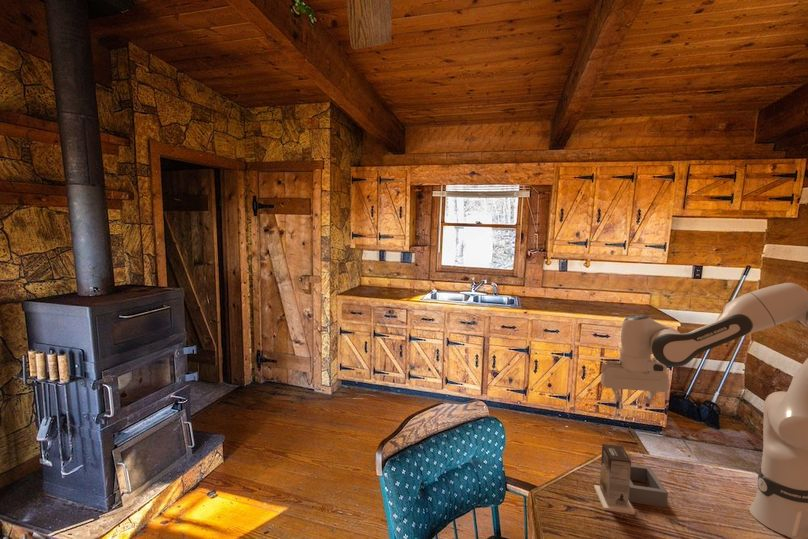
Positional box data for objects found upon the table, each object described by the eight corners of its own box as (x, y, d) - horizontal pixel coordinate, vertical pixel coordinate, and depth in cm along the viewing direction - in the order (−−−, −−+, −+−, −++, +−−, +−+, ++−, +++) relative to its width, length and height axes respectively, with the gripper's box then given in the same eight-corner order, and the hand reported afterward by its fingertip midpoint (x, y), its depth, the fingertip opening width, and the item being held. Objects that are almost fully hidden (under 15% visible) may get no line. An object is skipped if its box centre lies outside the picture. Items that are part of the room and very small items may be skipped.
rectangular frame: (648, 479, 134) (649, 466, 133) (666, 507, 120) (667, 492, 120) (615, 475, 136) (615, 462, 136) (629, 501, 122) (630, 487, 122)
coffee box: (598, 486, 128) (601, 442, 127) (618, 489, 127) (622, 445, 125) (606, 505, 119) (610, 458, 118) (628, 508, 118) (632, 461, 117)
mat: (622, 491, 127) (622, 489, 127) (634, 514, 117) (634, 512, 117) (593, 487, 129) (594, 484, 129) (603, 509, 119) (603, 507, 119)
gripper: (604, 363, 125) (603, 402, 126) (672, 367, 121) (670, 408, 122) (598, 357, 131) (597, 395, 133) (663, 361, 127) (661, 400, 128)
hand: (632, 401), depth 127 cm, fingers open, 8 cm apart
